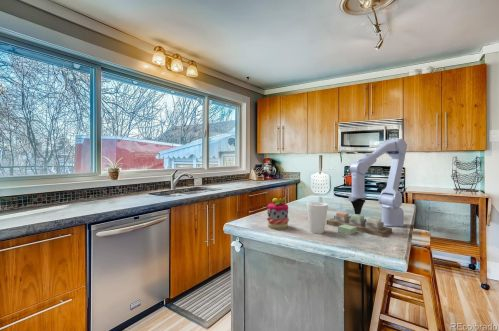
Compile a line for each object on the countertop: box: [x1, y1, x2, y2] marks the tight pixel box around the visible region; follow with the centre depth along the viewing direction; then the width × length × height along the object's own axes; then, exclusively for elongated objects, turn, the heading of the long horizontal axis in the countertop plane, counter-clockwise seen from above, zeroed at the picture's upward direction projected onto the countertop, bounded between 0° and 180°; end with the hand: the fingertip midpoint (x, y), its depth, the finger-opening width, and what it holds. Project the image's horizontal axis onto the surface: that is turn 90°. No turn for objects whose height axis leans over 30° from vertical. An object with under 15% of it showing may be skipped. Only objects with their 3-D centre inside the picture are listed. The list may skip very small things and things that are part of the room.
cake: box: [266, 197, 290, 230], centre depth 127 cm, size 10×11×15 cm
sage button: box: [350, 214, 365, 221], centre depth 124 cm, size 4×4×3 cm
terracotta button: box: [335, 211, 350, 218], centre depth 130 cm, size 4×4×3 cm
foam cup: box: [306, 201, 329, 234], centre depth 119 cm, size 10×9×13 cm
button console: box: [326, 215, 393, 238], centre depth 125 cm, size 28×10×4 cm, turn 41°
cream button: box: [366, 217, 382, 224], centre depth 118 cm, size 4×4×3 cm
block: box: [337, 224, 358, 235], centre depth 118 cm, size 6×6×2 cm
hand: (357, 214), depth 124 cm, fingers closed
